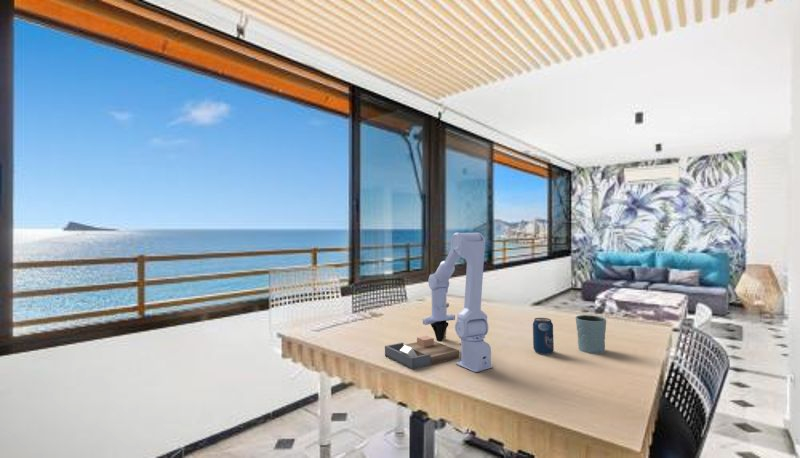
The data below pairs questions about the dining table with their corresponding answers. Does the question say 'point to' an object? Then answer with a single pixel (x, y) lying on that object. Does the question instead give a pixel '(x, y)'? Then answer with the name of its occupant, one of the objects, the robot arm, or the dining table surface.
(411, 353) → the tile cream
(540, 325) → the soda can
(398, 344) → the box
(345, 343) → the dining table surface
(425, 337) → the tile terracotta
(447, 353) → the wooden board
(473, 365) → the robot arm
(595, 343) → the blue-grey cup
